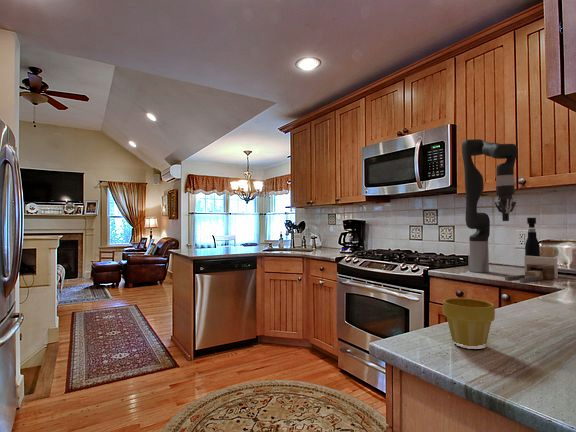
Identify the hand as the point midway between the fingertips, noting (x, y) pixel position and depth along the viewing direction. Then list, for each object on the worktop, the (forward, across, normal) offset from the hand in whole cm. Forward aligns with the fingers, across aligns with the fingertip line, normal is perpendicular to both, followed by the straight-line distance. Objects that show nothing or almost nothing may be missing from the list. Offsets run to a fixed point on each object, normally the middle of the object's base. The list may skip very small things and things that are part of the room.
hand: (505, 221), depth 162 cm
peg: (+29, -16, +5) cm, 33 cm away
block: (+28, -20, +4) cm, 35 cm away
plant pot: (+28, +94, +51) cm, 110 cm away
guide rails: (+28, -6, +4) cm, 29 cm away
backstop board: (+28, -24, +2) cm, 37 cm away
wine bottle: (+29, -30, -5) cm, 42 cm away
